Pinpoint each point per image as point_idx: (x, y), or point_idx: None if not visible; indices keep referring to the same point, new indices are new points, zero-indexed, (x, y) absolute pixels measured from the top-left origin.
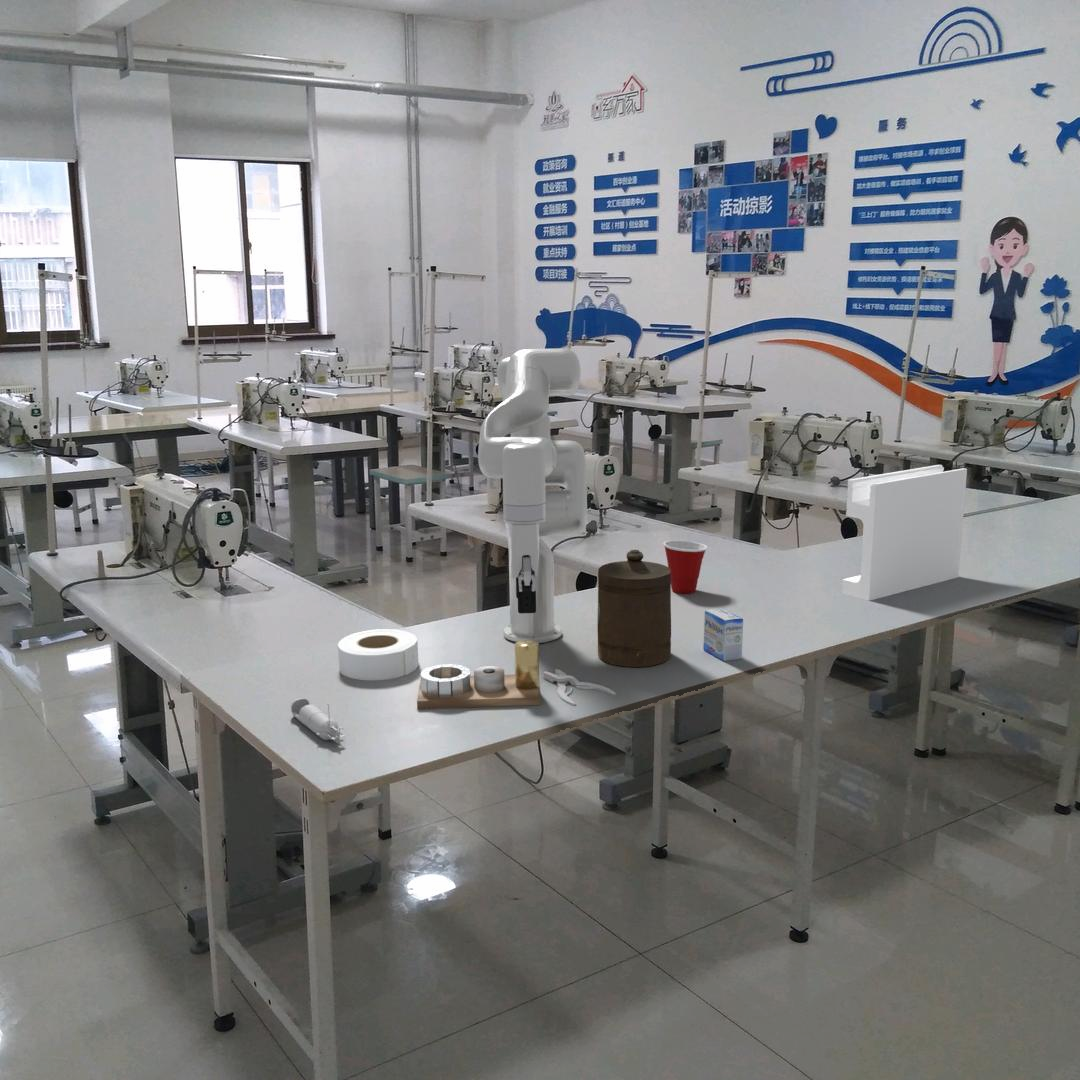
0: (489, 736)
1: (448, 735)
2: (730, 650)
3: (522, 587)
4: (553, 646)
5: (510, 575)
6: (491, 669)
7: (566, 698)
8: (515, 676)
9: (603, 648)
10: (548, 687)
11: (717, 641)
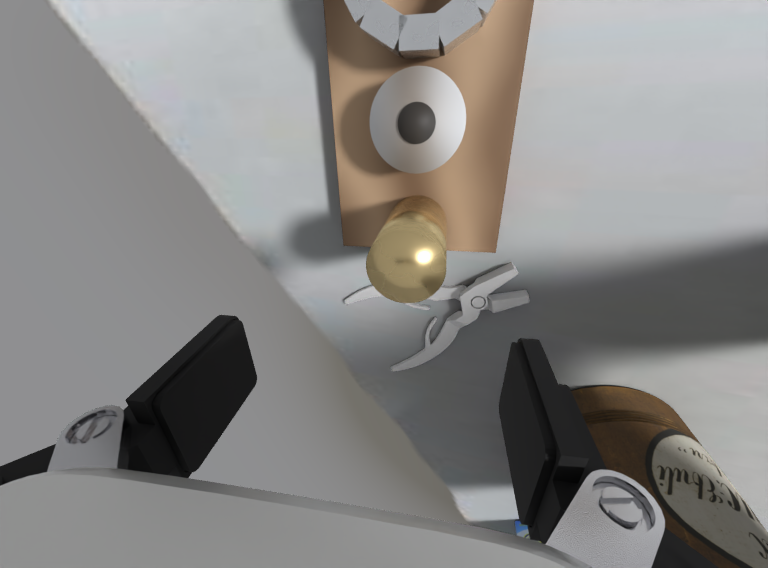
0: (182, 122)
1: (163, 11)
2: None
3: (29, 457)
4: (756, 312)
5: (53, 488)
6: (425, 131)
7: (371, 292)
8: (410, 202)
9: (590, 410)
10: (448, 266)
11: None
